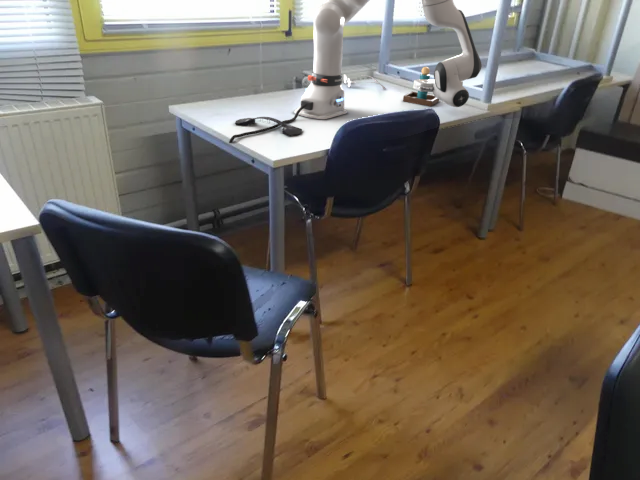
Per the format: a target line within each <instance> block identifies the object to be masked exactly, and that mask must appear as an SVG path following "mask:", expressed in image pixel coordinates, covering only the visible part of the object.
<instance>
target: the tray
mask: <svg viewBox="0 0 640 480" xmlns="http://www.w3.org/2000/svg"><path fill="white" fill-rule="evenodd" d="M417 94H418V91H410V92H408V93H406V94H404V95H403V97H402V102H404V103H410V104H416V105H421V106H426V107H433V106H435V105H437V104H438V103H439V102H440V100H439V99H438V98H436V97H435V96H434V95H433V94H428V93H427V100H425V99H420V98H417Z"/></svg>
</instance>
